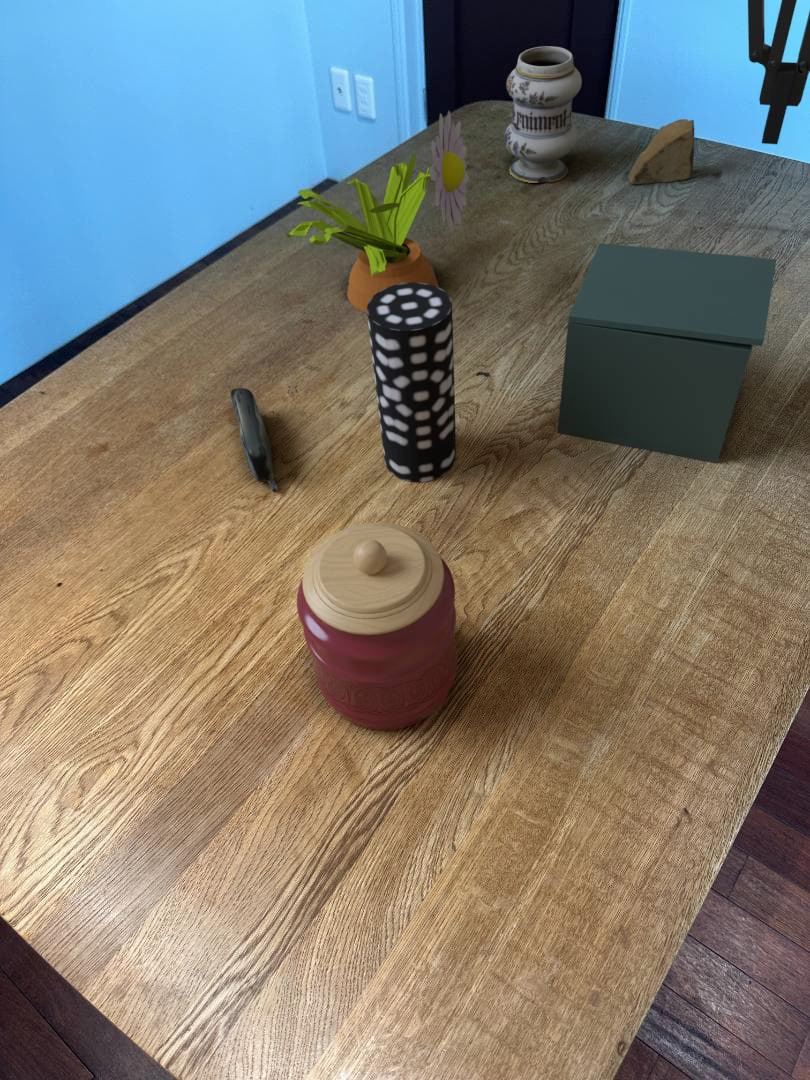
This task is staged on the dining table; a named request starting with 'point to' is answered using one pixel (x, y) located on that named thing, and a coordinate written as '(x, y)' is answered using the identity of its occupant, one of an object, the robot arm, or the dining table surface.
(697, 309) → the lid
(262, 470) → the dark banana
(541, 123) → the apothecary jar
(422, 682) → the kitchen canister
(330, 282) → the dining table surface
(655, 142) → the rock
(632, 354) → the chest
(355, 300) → the decorative plant
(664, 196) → the dining table surface
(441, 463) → the white-spotted black cylinder
